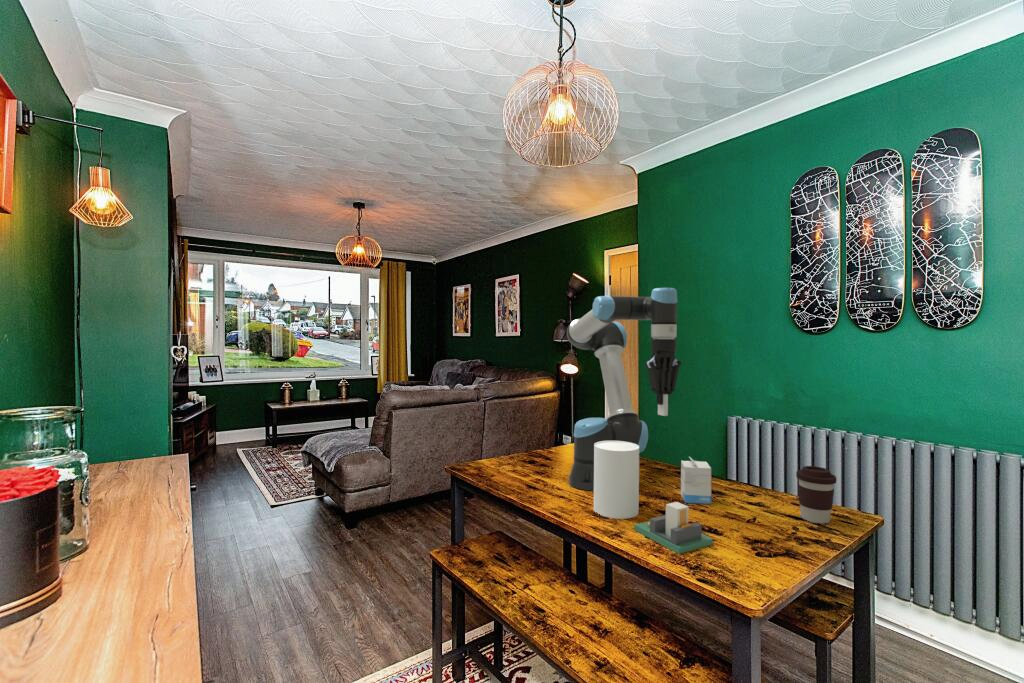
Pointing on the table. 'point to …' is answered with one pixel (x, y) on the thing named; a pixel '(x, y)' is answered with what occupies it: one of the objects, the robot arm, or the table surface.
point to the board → (671, 546)
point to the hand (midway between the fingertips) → (662, 414)
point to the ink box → (695, 482)
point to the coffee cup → (815, 493)
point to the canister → (616, 479)
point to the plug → (676, 516)
